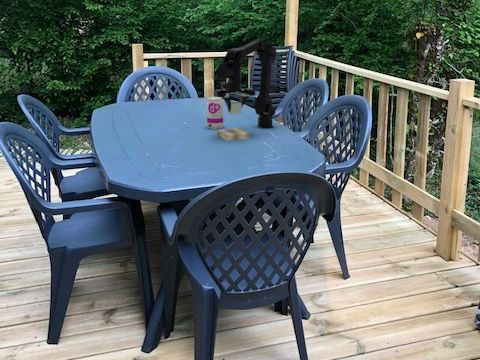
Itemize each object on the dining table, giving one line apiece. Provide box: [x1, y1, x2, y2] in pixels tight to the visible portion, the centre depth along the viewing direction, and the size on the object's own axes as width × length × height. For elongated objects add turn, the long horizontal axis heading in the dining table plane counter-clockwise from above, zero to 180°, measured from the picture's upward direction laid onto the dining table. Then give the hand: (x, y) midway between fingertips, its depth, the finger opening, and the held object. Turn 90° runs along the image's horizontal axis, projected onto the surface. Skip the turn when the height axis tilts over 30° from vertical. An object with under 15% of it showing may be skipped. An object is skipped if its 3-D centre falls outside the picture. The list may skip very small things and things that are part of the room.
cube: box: [227, 101, 243, 115], centre depth 266 cm, size 5×5×5 cm
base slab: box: [216, 127, 251, 142], centre depth 268 cm, size 12×12×3 cm
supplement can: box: [206, 96, 224, 130], centre depth 285 cm, size 8×8×15 cm
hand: (234, 111), depth 267 cm, fingers closed on cube, 5 cm apart
